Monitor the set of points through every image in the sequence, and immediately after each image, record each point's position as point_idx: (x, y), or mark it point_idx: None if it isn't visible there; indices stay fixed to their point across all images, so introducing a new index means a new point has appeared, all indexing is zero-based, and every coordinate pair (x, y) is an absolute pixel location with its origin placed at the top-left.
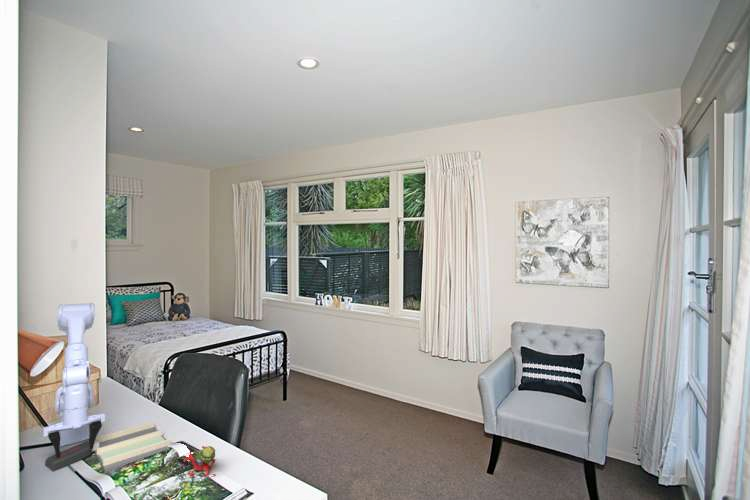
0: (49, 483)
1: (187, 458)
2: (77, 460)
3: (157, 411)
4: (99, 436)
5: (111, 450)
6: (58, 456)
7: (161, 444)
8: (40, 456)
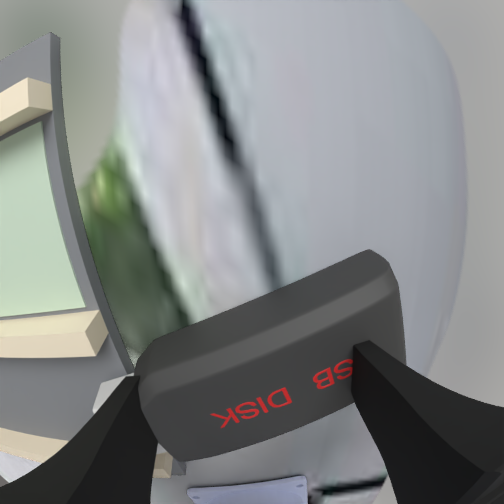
0: (386, 84)
1: None
2: (225, 312)
3: None
4: None
5: (29, 317)
6: (367, 346)
7: None
8: None
